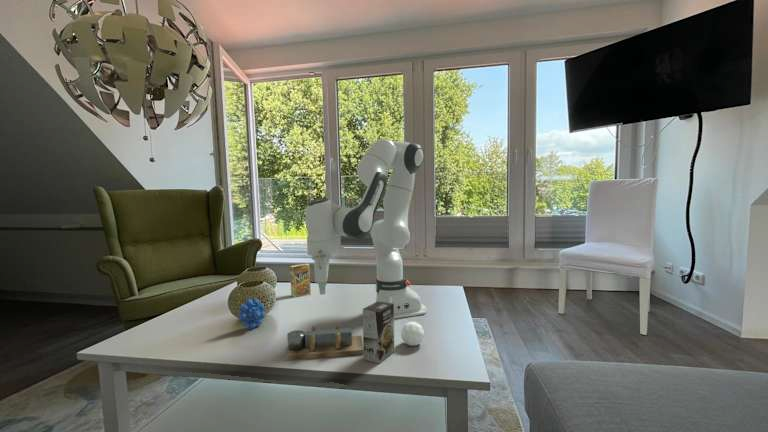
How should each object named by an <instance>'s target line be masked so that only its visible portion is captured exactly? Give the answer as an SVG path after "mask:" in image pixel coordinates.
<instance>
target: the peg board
mask: <svg viewBox="0 0 768 432" xmlns="http://www.w3.org/2000/svg"><path fill="white" fill-rule="evenodd" d="M334 327H335V329H341V324H336V325H335V326H334ZM314 330H317V326H316V325H313V326H311V331H314ZM335 344H336V347H323V348H315V335H310V349H306V347H305V348H304V349H302V350H299V351H290V350H288V349H287V352H286V356H285V357H286V361H294V360H295V361H297V360H308V359H322V358H324V359H325V358H331V357H332V358H334V357H346V356H357V355H358V356H360V355H363V335H352V345H350V346H341V344H340V333H336V334H335Z"/></svg>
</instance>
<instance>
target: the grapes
mask: <svg viewBox="0 0 768 432" xmlns="http://www.w3.org/2000/svg"><path fill="white" fill-rule="evenodd" d="M239 310H240V312H239V313H238V319H239V320H241V325H242V327H244V328H246V327H248V328H249V329H250V330H252V329H256V327H257V326H261V325H262V324H263V320H262V319H265V317H266V312H265V305H264V303H261V302H260V300H259V298H254V299H253V300H252V299H251V298H247V299H245V301H244V303H243V304H241V305H240V306H239Z"/></svg>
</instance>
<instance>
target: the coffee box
mask: <svg viewBox="0 0 768 432" xmlns="http://www.w3.org/2000/svg"><path fill="white" fill-rule="evenodd" d="M362 344H363V354H362V355H363V359H364V360H366V361H370V362H374V363H375V364H376V363H377V364H381V363H382V362H384V361H385V360H386V359H388V357H390V356H391V355H392V354H394V353H395V319H394V304H392V303H386V302H379V301H377V302H376V301H375V302H374V303H372V304H369V305H368V306H365V307H364V308H362Z"/></svg>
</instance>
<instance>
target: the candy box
mask: <svg viewBox="0 0 768 432" xmlns="http://www.w3.org/2000/svg"><path fill="white" fill-rule="evenodd" d="M289 273H290V274H289V276H290V290H291V292H290V293H291V296H292V297H293V298H297V297H302V296H306V295H307V296H308V295H311V270H310V264H309V263H301V264H300V263H299V264H294V265H289Z"/></svg>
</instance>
